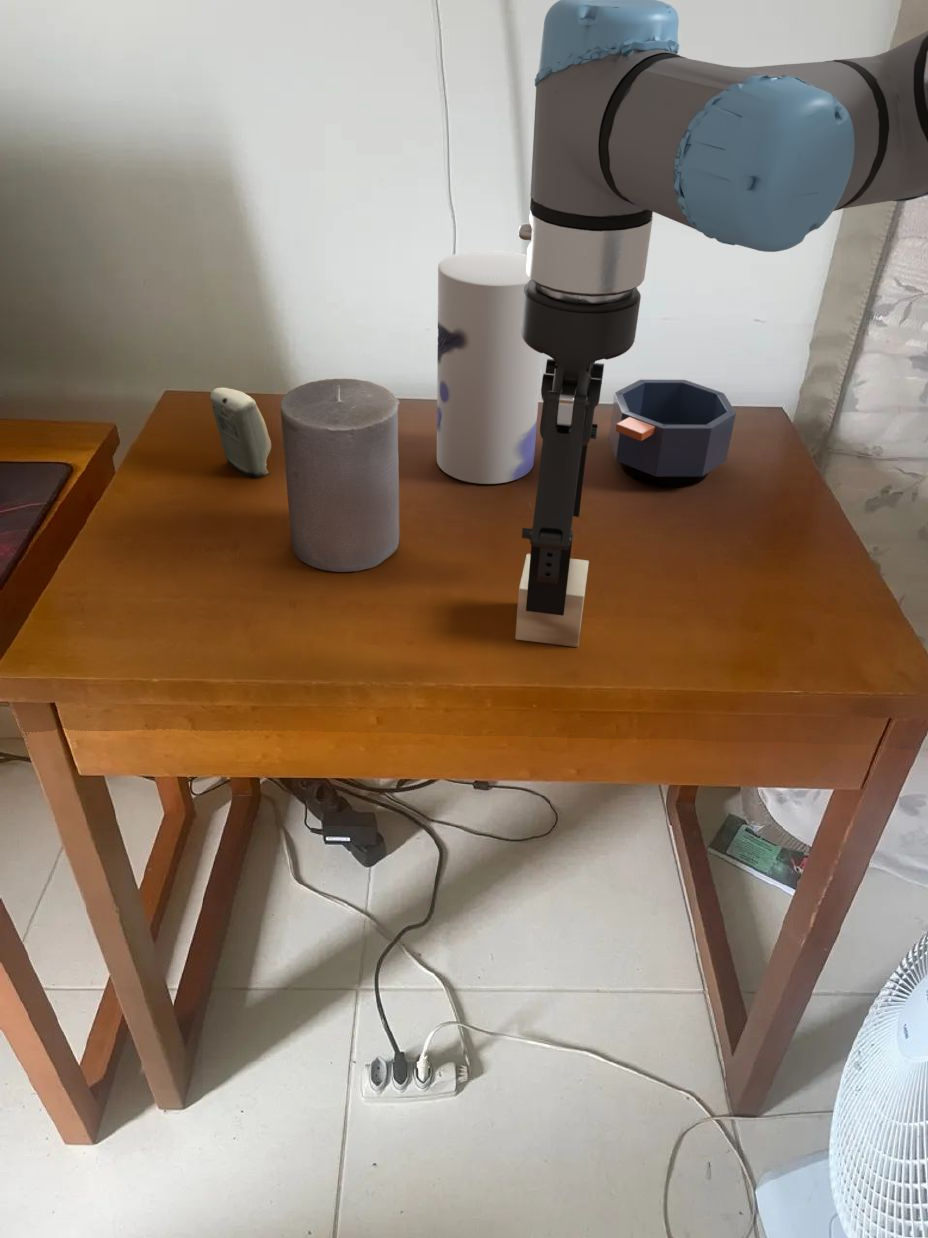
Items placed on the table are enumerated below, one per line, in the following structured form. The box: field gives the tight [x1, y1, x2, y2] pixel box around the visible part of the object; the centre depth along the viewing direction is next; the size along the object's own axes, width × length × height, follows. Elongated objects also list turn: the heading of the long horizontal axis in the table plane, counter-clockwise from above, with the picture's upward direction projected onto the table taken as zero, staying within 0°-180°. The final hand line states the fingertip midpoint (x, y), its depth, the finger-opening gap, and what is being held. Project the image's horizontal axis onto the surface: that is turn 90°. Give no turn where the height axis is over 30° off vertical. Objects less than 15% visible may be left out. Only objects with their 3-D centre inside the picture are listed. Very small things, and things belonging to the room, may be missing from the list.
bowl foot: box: [619, 462, 709, 489], centre depth 101 cm, size 9×9×2 cm
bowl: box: [608, 379, 737, 477], centre depth 98 cm, size 13×11×5 cm
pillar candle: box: [279, 378, 401, 573], centre depth 84 cm, size 10×10×15 cm
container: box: [436, 249, 543, 485], centre depth 95 cm, size 10×10×20 cm
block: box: [514, 553, 590, 648], centre depth 78 cm, size 5×5×5 cm
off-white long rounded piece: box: [209, 387, 272, 479], centre depth 97 cm, size 6×5×8 cm
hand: (554, 558), depth 76 cm, fingers open, 13 cm apart
